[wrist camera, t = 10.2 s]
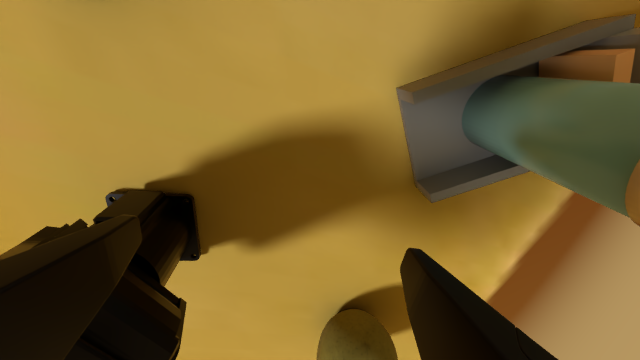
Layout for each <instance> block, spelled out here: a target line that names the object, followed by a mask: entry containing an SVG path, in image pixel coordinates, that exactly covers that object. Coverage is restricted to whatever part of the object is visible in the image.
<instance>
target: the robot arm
mask: <svg viewBox="0 0 640 360" xmlns="http://www.w3.org/2000/svg"><path fill="white" fill-rule="evenodd" d="M112 197H114V198H115V199H116V200H114V199H113V198H112ZM185 199H187V200H189V202H186V201H185ZM106 202H107V206H108V207H107V208H106V209H105V210H103V211H102V212H101V213H99V214H98V215H97V216H96V217H95V218H94V219H93V221H94V224H93V225H91V226H90V227H87V225H88V224H87V223H85V222H84V221H83V220H82V219H79V220H78V221H76V222H75V223H73V224H72V225H71V226H69V225H68V224H65V225H64V226H62V227H61V228H57V227H49V226H46V227H45V228H43V229H42V230H40V231H39V232H37V233H36V234H34V235H33V236H31V237H30V238H28V239H27V240H25V241H24V242H22V243H20V244H19V245H17V246H15V247H14V248H12V249H10V250H9V251H7V252H5V253H3V254H2V255H0V360H176V357H177V355H178V352H179V349H180V344H181V337H182V330H183V324H184V317H185V310H186V302H185V301H184V300H183V299H182V298H178V297H176V296H175V295H174V294H172V293H171V292H170V291H169V290H167V289H166V288H165V287H164V286H165V284H166V283H167V281H168V279H169V278H170V276H171V274H172V273H173V271H174V269H175V267H176V266H177V264H178V262H179V261H195V260H198V259H199V257H200V255H201V250H200V242H199V235H198V227H197V219H196V211H195V203H194V198H193V197H192V196H191V195H190V194H173V193H164V192H162V191H137V190H130V191H128V192H111V193H109V194H108V195H107V196H106ZM193 254H195V255H196V256H195V255H193ZM400 273H401V279H402V284H403V290H404V295H405V301H406V306H407V311H408V315H409V319H410V323H411V326H412V330H413V333H414V336H415V340H416V343H417V347H418V350H419V353H420V357H421V360H558V359H557V358H555V357H554V356H553V355H551V354H550V353H549V352H547V351H546V350H545V349H543V348H542V347H541V346H540V345H539V344H537V343H536V342H535V341H533V340H532V339H531V338H529V337H528V336H527V335H526V334H525V333H523V332H522V331H521V330H520V329H519V328H517V327H516V328H515V325H514V324H512V323H511V322H510V321H509V320H507V319H506V318H505V317H504V316H502V315H501V314H500V313H499V312H497V311H496V310H495V309H494V308H493V307H491V306H490V305H489V304H488V303H486V302H485V301H484V300H483V299H481V298H480V297H479V296H478V295H476V294H475V293H474V292H473V291H471V290H470V289H469V288H468V287H467V286H465V285H464V284H463V283H462V282H460V281H459V280H458V279H457V278H455V277H454V276H453V275H452V274H450V273H449V272H448V271H447V270H445V269H444V268H443V267H442V266H441V265H439V264H438V263H437V262H436V261H434V260H433V259H432V258H431V257H429V256H428V255H427V254H426V253H424V252H423V251H422V250H420V249H416V248H408V249H407V251H406V253H405V256H404V258H403V261H402V263H401V267H400Z"/></svg>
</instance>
